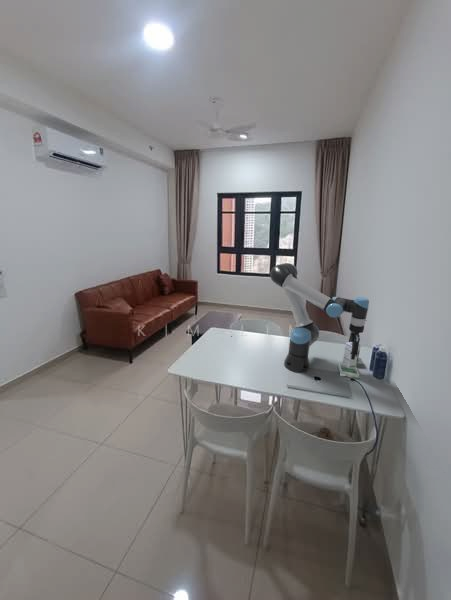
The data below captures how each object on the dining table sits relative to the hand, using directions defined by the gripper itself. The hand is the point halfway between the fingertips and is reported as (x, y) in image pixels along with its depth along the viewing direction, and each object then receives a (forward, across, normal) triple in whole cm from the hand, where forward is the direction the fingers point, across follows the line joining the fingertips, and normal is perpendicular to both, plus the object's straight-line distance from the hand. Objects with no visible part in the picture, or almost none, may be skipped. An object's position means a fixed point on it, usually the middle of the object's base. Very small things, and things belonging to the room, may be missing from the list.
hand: (350, 360), depth 160 cm
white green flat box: (+8, 0, 0) cm, 8 cm away
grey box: (+8, +10, -6) cm, 14 cm away
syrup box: (+4, 0, 0) cm, 4 cm away
